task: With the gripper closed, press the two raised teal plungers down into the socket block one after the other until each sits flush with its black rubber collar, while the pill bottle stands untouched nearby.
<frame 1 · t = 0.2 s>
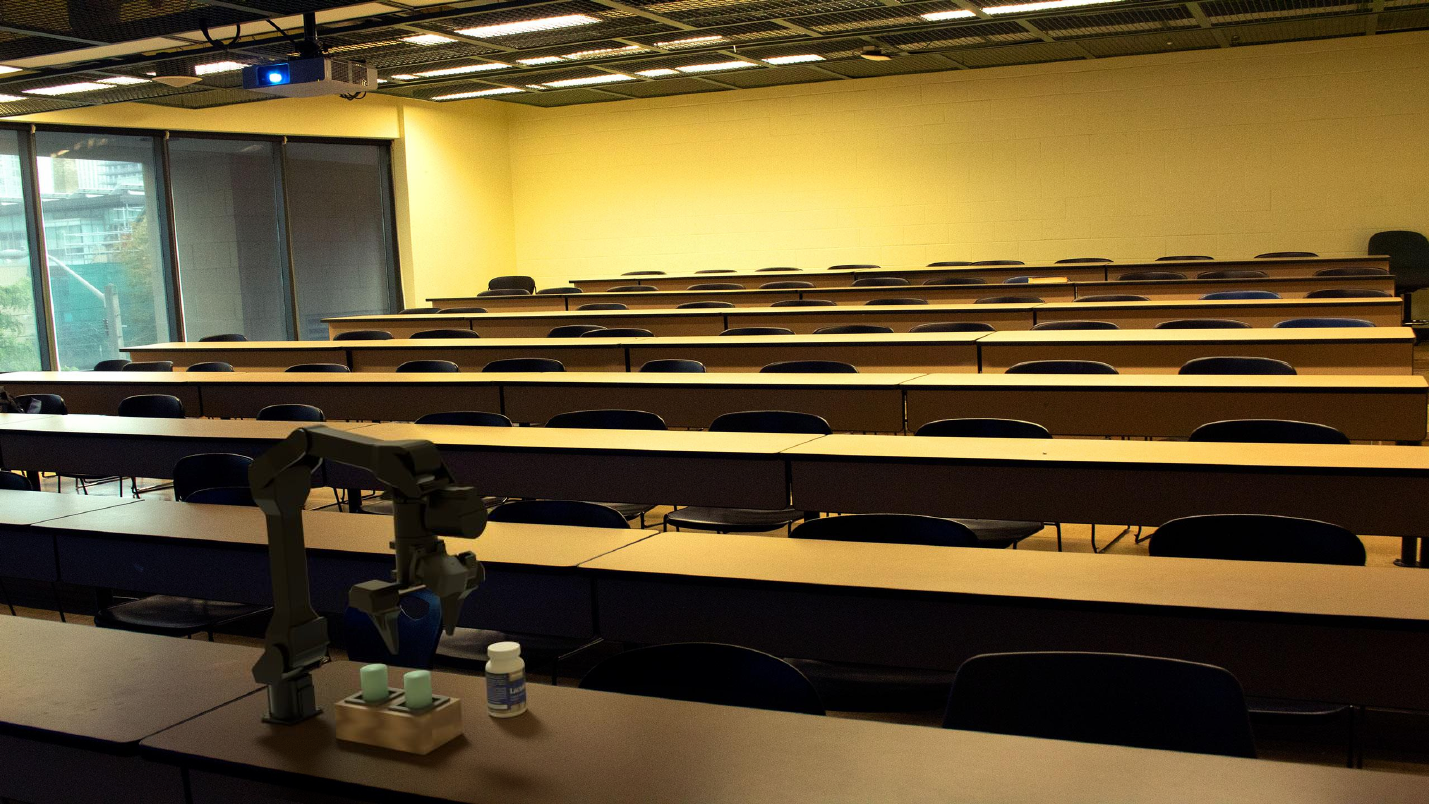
hand: (422, 644, 155), 14 cm above the table, fingers open, 9 cm apart
plunger 2: (418, 692, 157), point 7 cm above the table, slide at 4.0 cm
pill bottle: (507, 712, 167), on the table
socket block: (399, 735, 159), on the table
plunger 1: (374, 685, 160), point 7 cm above the table, slide at 4.0 cm
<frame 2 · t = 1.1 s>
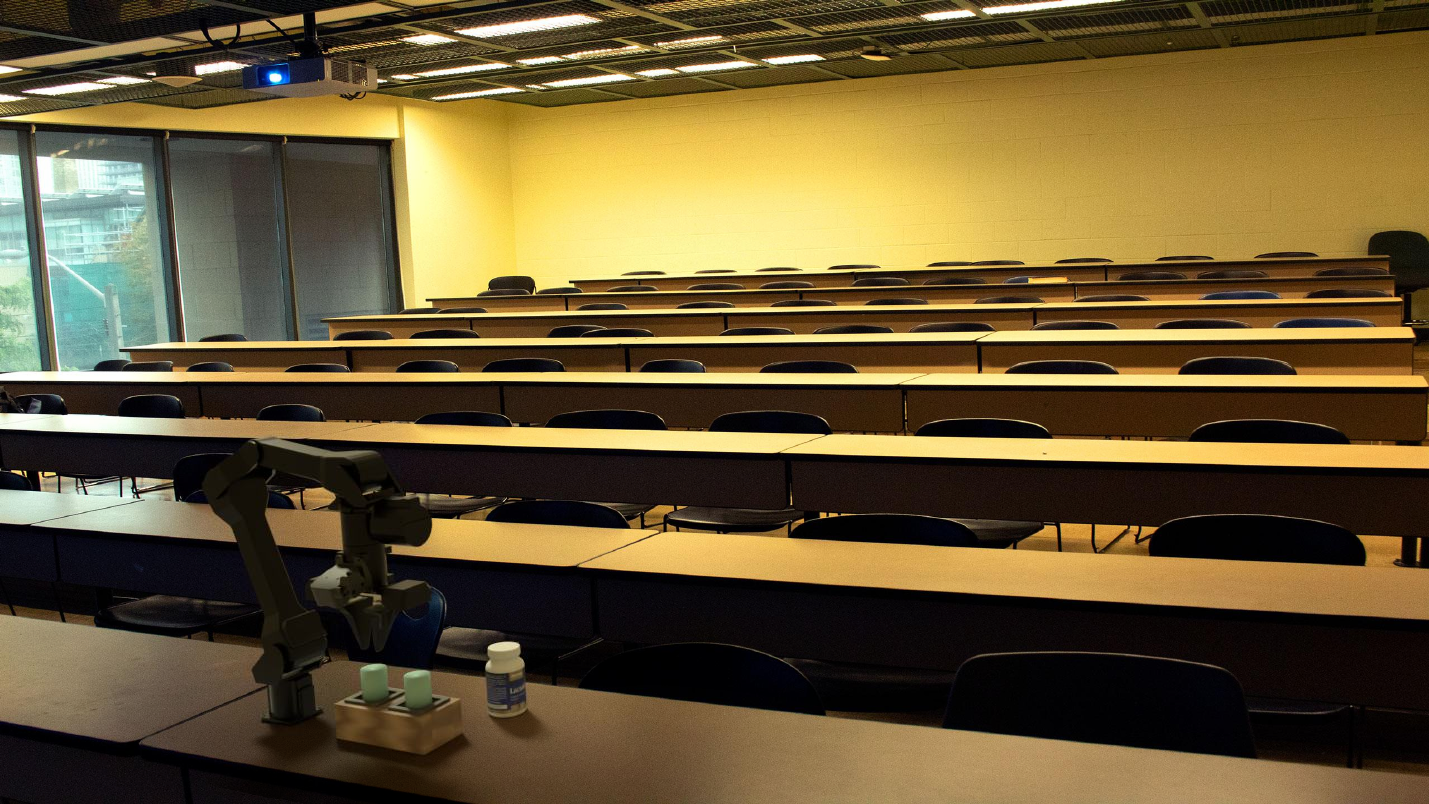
hand: (371, 650, 160), 12 cm above the table, fingers closed
nothing on the table moved.
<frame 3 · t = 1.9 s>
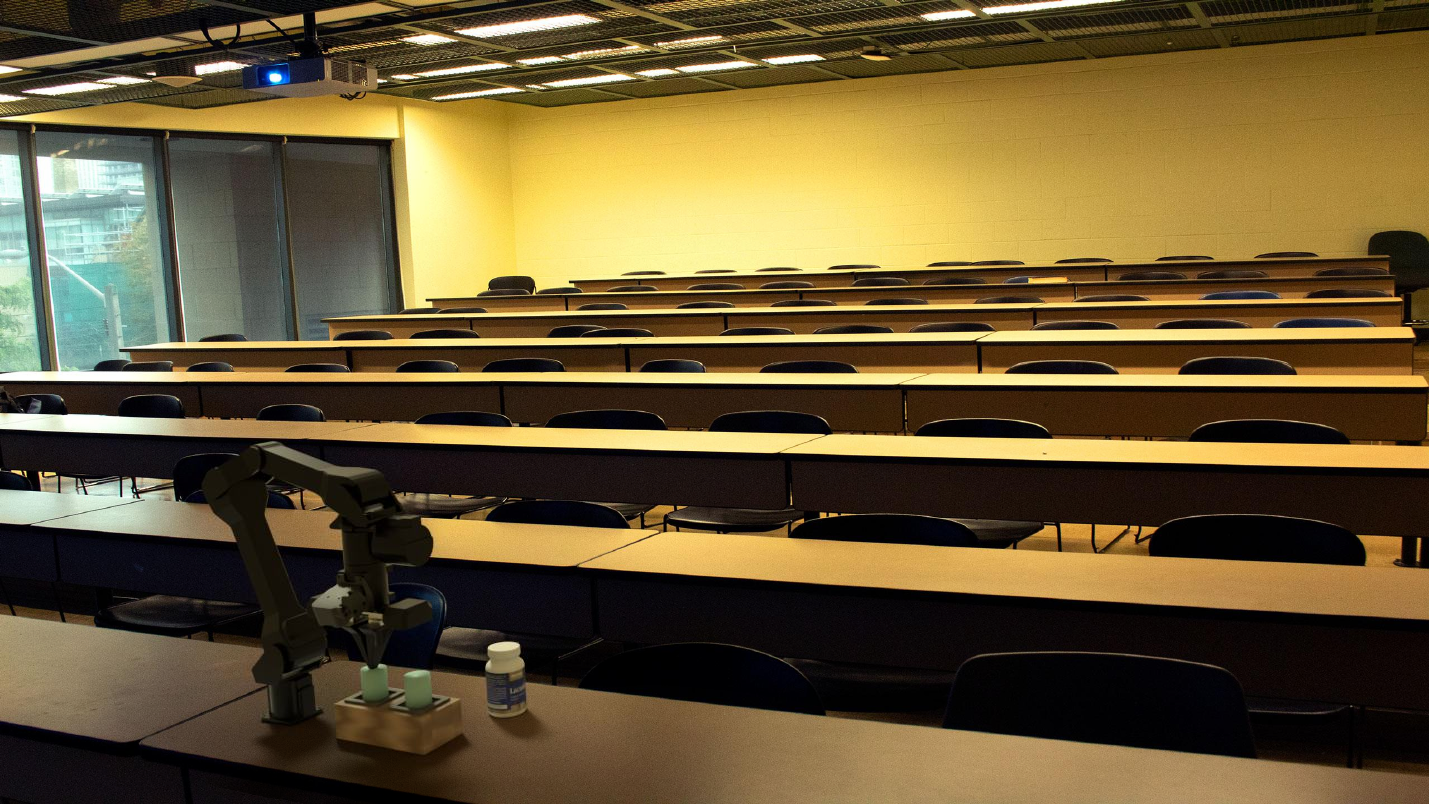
hand: (373, 668, 160), 9 cm above the table, fingers closed, pressing on plunger 1
plunger 1: (374, 686, 160), point 7 cm above the table, slide at 4.0 cm, touching gripper
everything else where it was.
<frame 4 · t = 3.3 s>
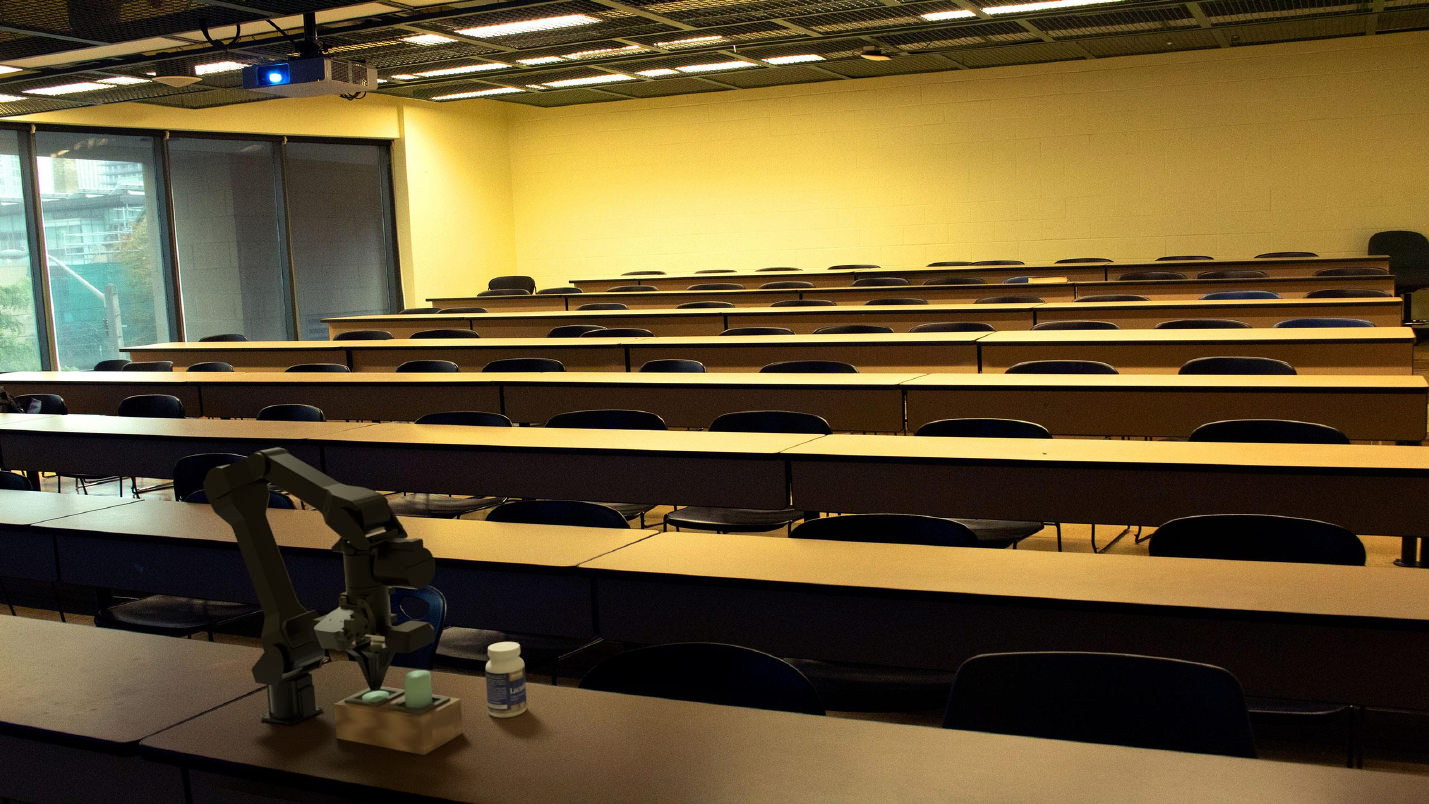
hand: (375, 690, 160), 6 cm above the table, fingers closed
plunger 1: (376, 713, 161), point 3 cm above the table, slide at 0.0 cm
everything else where it was.
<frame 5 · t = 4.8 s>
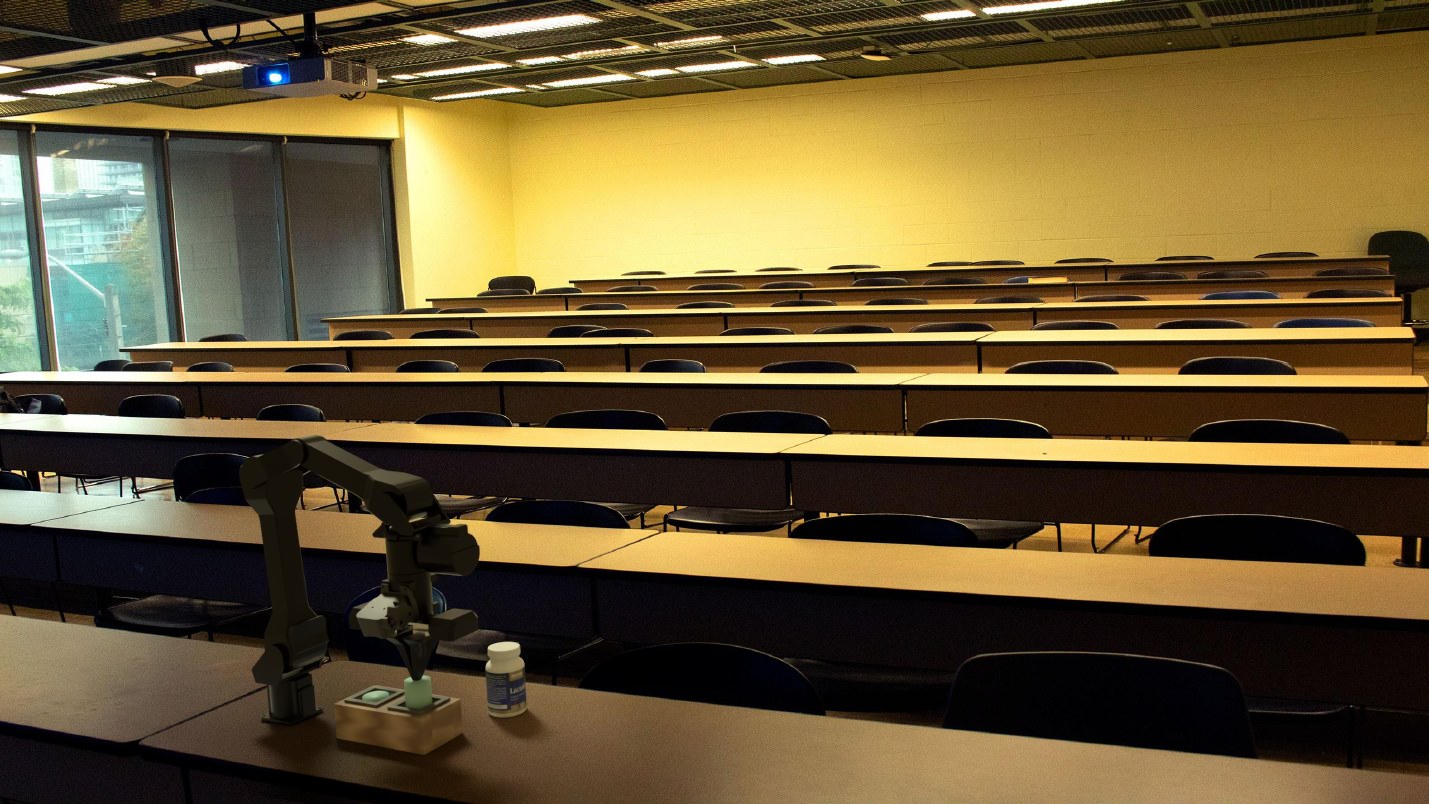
hand: (417, 679, 156), 9 cm above the table, fingers closed, pressing on plunger 2
plunger 2: (418, 697, 157), point 6 cm above the table, slide at 3.3 cm, touching gripper
everything else where it was.
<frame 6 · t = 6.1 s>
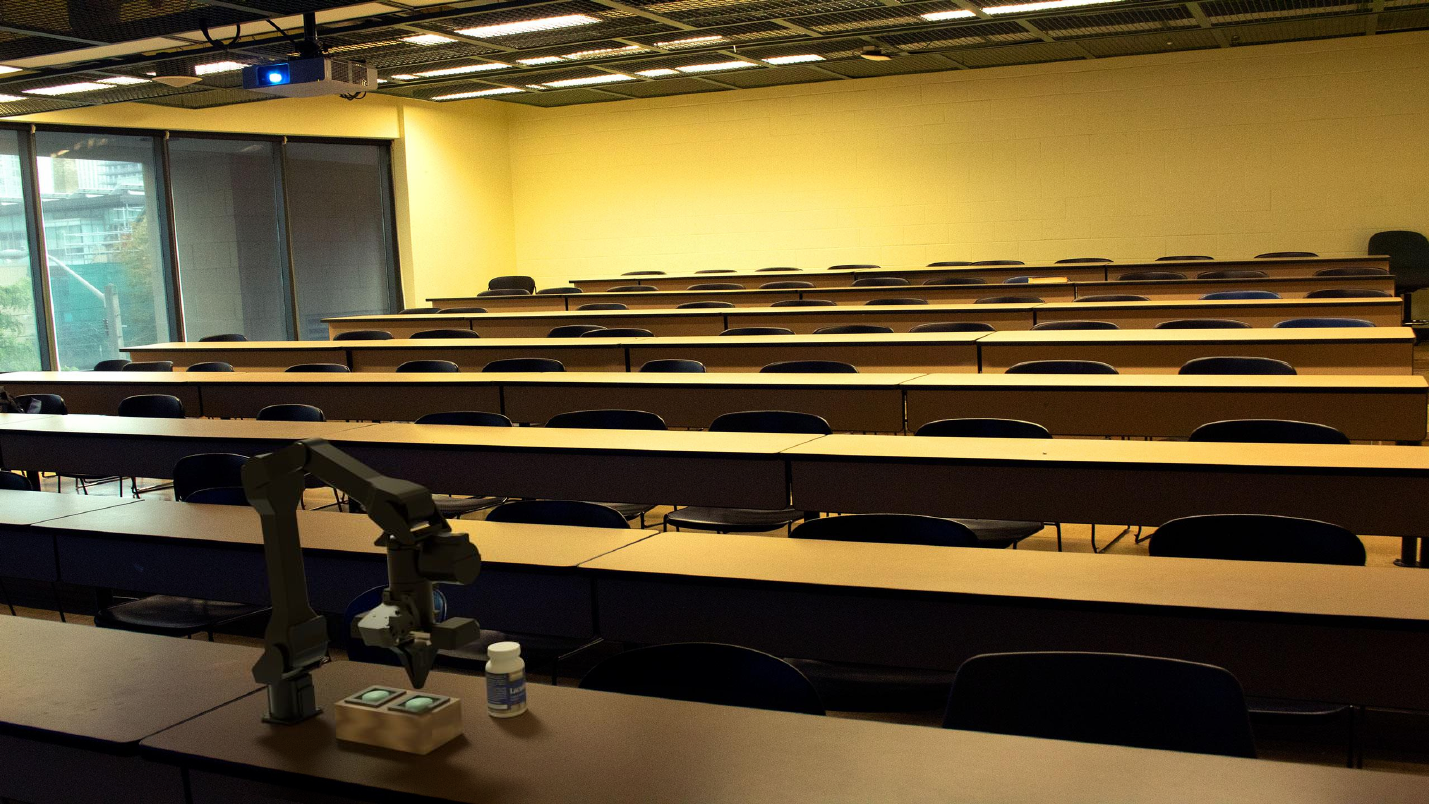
hand: (418, 688, 157), 7 cm above the table, fingers closed
plunger 2: (420, 720, 157), point 3 cm above the table, slide at 0.0 cm
everything else where it was.
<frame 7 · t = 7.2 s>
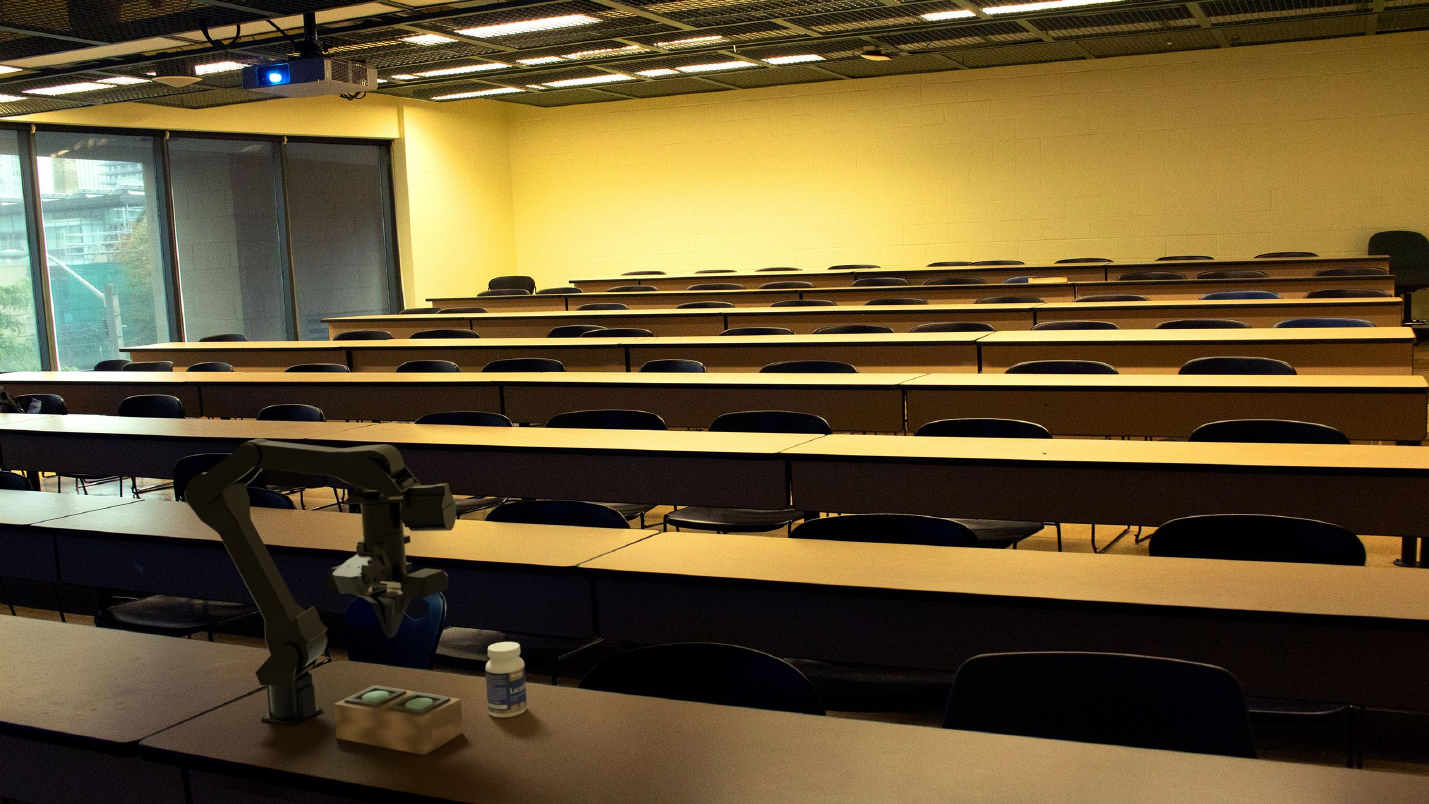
hand: (391, 636, 166), 12 cm above the table, fingers closed
nothing on the table moved.
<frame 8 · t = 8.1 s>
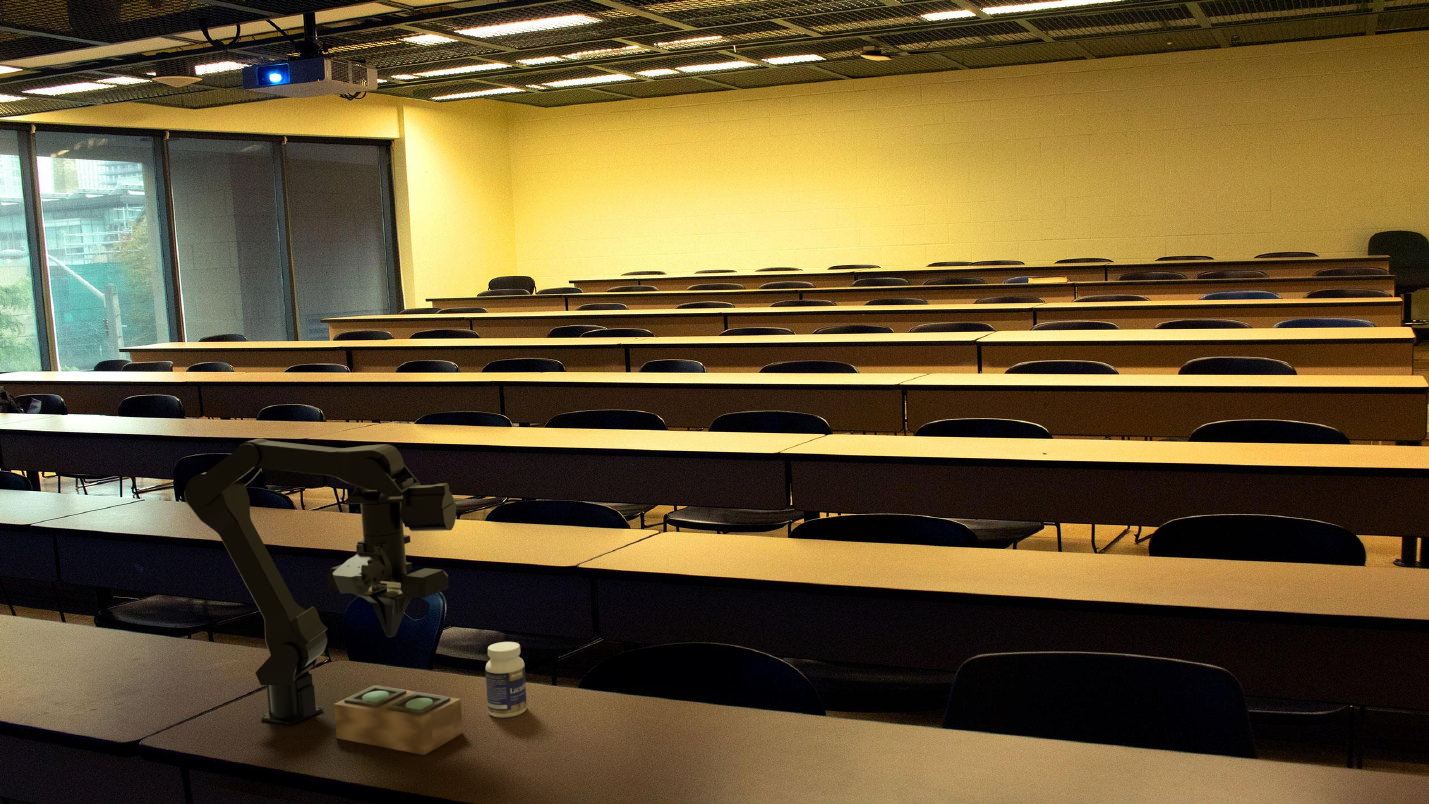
hand: (391, 636, 166), 12 cm above the table, fingers closed
nothing on the table moved.
at the end: plunger 1 slide at 0.0 cm; plunger 2 slide at 0.0 cm; pill bottle moved 0.2 cm from its start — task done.
